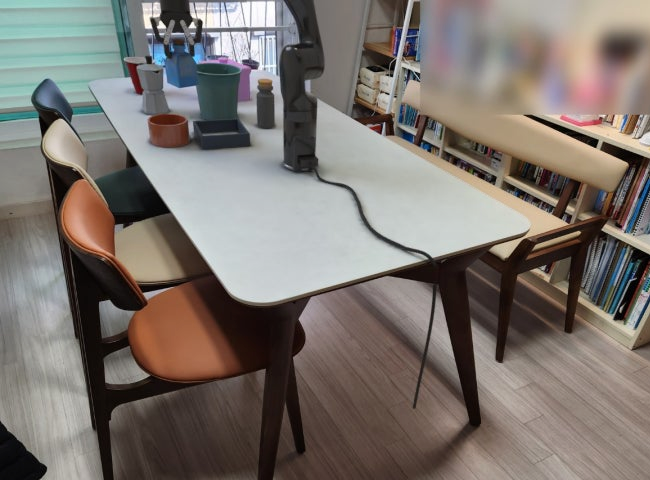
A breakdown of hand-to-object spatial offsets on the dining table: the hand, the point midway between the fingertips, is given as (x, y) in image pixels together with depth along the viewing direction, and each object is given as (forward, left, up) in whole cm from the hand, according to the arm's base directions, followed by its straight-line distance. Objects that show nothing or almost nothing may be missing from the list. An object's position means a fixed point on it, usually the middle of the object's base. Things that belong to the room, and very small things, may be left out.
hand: (180, 57), depth 149 cm
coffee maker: (+30, +6, -24) cm, 39 cm away
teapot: (+43, -20, -24) cm, 53 cm away
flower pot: (+20, -14, -24) cm, 34 cm away
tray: (-2, -10, -24) cm, 26 cm away
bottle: (+8, -27, -24) cm, 37 cm away
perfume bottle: (0, 0, -7) cm, 7 cm away
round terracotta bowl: (0, +5, -24) cm, 25 cm away
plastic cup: (+52, +7, -24) cm, 58 cm away
